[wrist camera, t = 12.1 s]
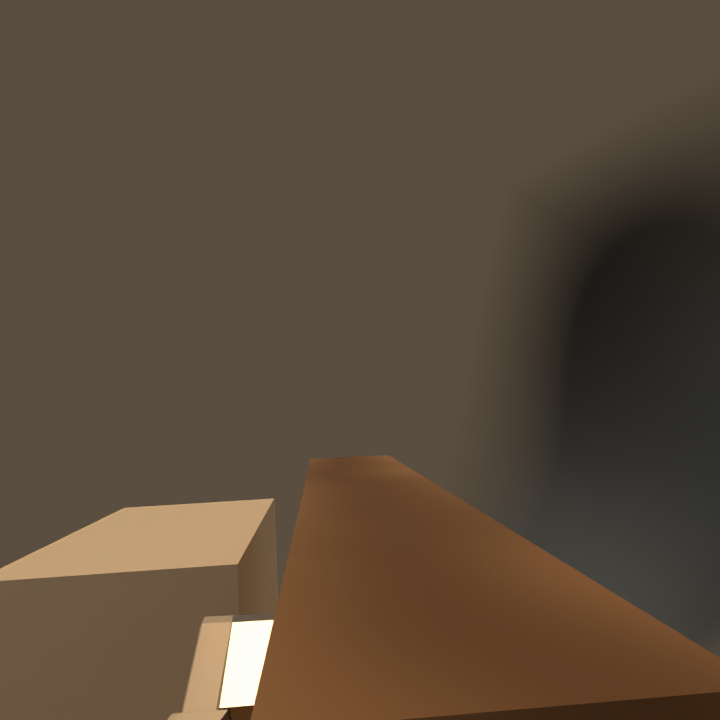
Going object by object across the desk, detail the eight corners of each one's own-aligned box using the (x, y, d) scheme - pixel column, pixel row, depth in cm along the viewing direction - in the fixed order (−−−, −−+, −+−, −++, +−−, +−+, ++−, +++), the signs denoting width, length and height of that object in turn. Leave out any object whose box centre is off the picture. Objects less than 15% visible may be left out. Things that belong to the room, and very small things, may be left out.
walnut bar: (392, 534, 28) (388, 455, 28) (834, 1283, 4) (769, 687, 4) (313, 539, 27) (310, 459, 28) (261, 1384, 4) (247, 732, 4)
